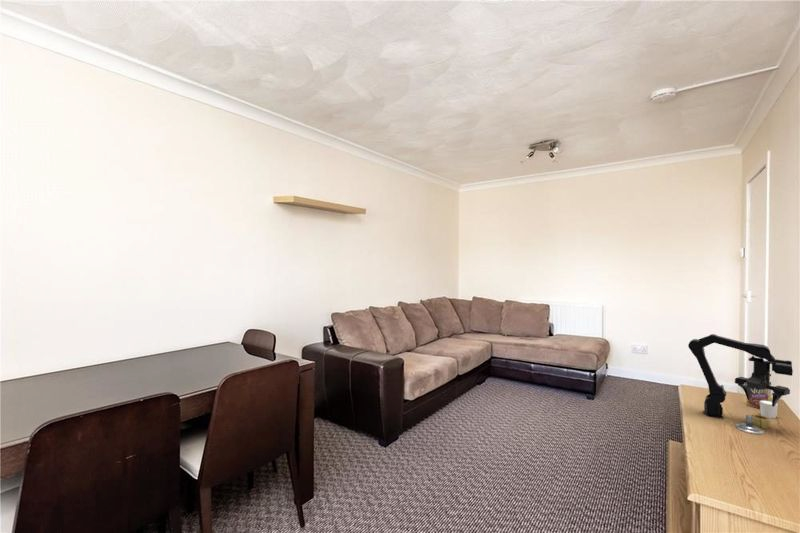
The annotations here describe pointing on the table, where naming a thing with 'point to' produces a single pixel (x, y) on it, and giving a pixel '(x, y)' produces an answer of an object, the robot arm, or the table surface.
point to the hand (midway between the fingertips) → (760, 403)
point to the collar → (761, 421)
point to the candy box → (758, 397)
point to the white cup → (768, 409)
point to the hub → (749, 426)
